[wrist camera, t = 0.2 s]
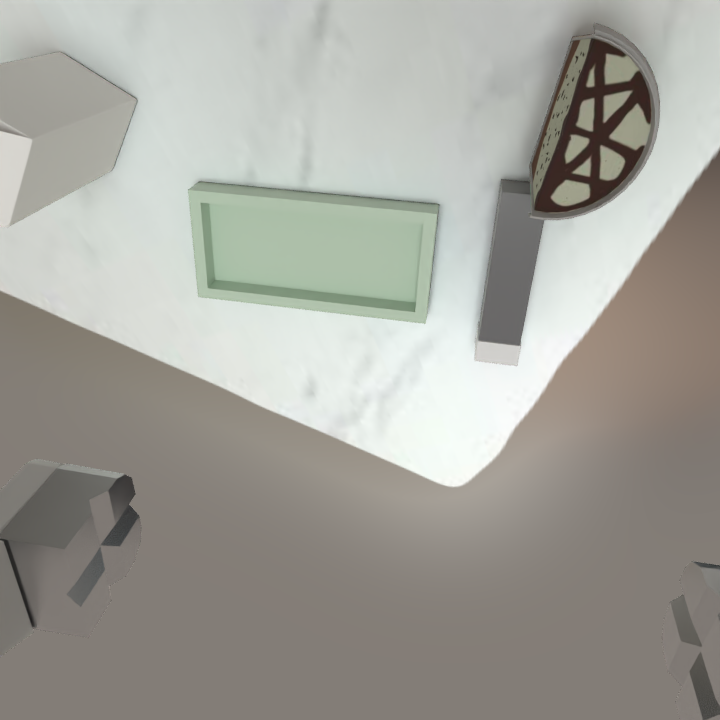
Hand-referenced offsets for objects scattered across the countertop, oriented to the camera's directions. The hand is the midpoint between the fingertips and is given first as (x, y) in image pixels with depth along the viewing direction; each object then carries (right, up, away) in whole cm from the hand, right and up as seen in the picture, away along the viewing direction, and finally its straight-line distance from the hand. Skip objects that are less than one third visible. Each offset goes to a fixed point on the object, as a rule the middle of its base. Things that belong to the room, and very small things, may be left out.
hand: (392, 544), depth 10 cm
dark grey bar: (+12, +11, +47) cm, 50 cm away
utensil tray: (-4, +13, +49) cm, 51 cm away
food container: (+17, +21, +40) cm, 48 cm away
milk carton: (-24, +24, +47) cm, 58 cm away
